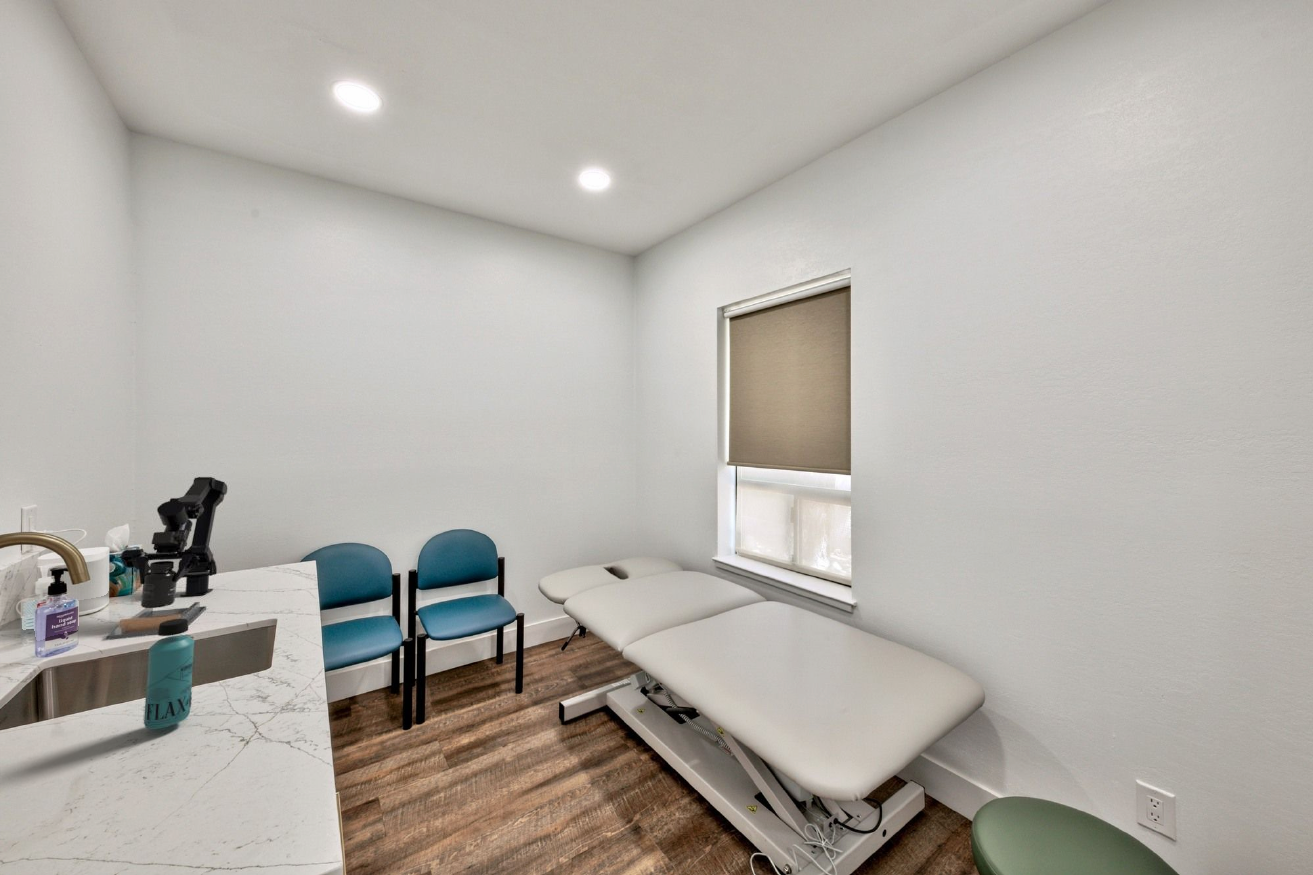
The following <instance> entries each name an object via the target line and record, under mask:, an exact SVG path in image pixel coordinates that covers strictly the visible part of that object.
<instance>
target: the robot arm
mask: <svg viewBox="0 0 1313 875" xmlns="http://www.w3.org/2000/svg"><path fill="white" fill-rule="evenodd" d="M227 493H228V485H227V483H226V482H225V481H221V480H218V479H216V478H215V477H212V476H197V477H194V478H193V483H192V484H191V485H190V487H189V488H188V490H187V491H186V492H185V494H184V495H183V496H179V497H171V498H170V499H169V500H168V501H165V502H163V503H162V504H160V505H159V506H157V509H156V511H157V513H158V516H159V519H160V521H161V523H162V525H163V526H165V528H164V530H163V531H156V532H153V534H152V540H151V545H153V550H154V551H155V552H146V551H144V549H143V548H131V549H129V548H128V549H124V550H123V551H122V552H121V554H120V557H119V558H120V560H121V562H122V564H123V565H124V567H125V568H129V569H130V568H133V569H135V570H138V574H139V581H140V584H141V585H143V580H144V576H145V575H146V574H147V573H149V572H150V570H149V568H150V563H149V562H150V561H173V560H179V562H178V567H177V568H178V569H177V571H176V575H175V579H174V581H175V582H179V580H181V579H182V578H185V580H186V581H185V591H184V592H183V593H181V594H179V596H180V597H195V596H197V597H198V596H205V595H206V594H208V593H211V592H212V591H214V588H209V585H210V584H209V581H210V576H213V575H214V576H215V575H217V573H218V572H217V571H218V568H217V562H216V561H215V559H214V554H213V552H212V550H211V548H210V543H211V537H212V530H213V526H214V519H215V516H216V515H215V514H216V510H217V507H218V506H219V505H220V504H221V503H223V501H224V499H225V495H227ZM192 520H195V526H194V530H193V537H192V540H191V545H190V546H189V547H188V548H187V549H186V547H187V545H188V539H189V536H190V533H191V532H192V527H193V524H194V523H193V521H192Z"/></svg>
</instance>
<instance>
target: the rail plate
mask: <svg viewBox="0 0 1313 875" xmlns="http://www.w3.org/2000/svg"><path fill="white" fill-rule="evenodd" d="M206 610H207V605H205V606H201V601H197V602H195V601H194V603H192V604H191V605H190V606H189V607H181V608H169V609H162V610H154V608H143V609H142V610H141V611H139V612H137V613H136V614H135V615H134V616H132V617H130V618H126V619H124V618H122V619H120V620H119V624H118V625H119V626H118V627H116V628H115V629H114V630H113V631H111V632H110V633H109V634H107V635H106V639H110V640H116V639H126V638H127V637H128V638H138V637H145V636H146V635H147V636H156V635H158V631H159V625H160V623H162V622H164V621H168V620H172V619H187V620H188V627H189V626H190V625H191V624H192V623H193V622H194V621H195V620H196V619H197V618H199V616H201V615H202V614H203V613H204V612H205V611H206ZM137 636H138V637H137Z"/></svg>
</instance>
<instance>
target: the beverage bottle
mask: <svg viewBox="0 0 1313 875" xmlns="http://www.w3.org/2000/svg"><path fill="white" fill-rule="evenodd" d="M188 630H189V626H188V620H187V619H172V620H168V621H164V622H162V623H160V625H159V631H158V634H157V635H158V637H160V636H161V637H163V638H161V639H159V640H157V641H156V642H155V643H153V644H152V645H151V646H150V647H149V648H148V654H149V655H148V666H147V682H146V683H147V684H146V688H145V690H144V691H145V698H144V712H143V715H142V716H143V719H142V721H143V725H144V727H145V728H146V729H149V730H150V729H151V730H153V729H162V728H163V729H164V728H167V727H171V726H174V725H177V724H178V723H180V722H181V723H182V721H185V720H186V719H187V718H188V717H189V715H190V713H191V708H192V702H193V701H192V700H193V697H192V694H193V688H192V687H193V672H194V670H195V669H194V666H195V663H194V659H195V657H194V650H195V649H194V647H195V639H194V638H192V637H190V636H188V635H185V634H184V633H185V632H187V631H188ZM183 634H184V635H183Z"/></svg>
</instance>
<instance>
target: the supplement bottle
mask: <svg viewBox="0 0 1313 875" xmlns="http://www.w3.org/2000/svg"><path fill="white" fill-rule="evenodd" d="M174 565H175V562H174V561H173V560H158V561H154V562H151V563H149V566H150V568H149V573H147V574H146V575H145V576H144V580H143V584H142V590H141V592H142V593H141V600H140V601H141V602H140V606H141V607H142V608H143V609H145V608H153V609H157V608H165V607H168V606H171V605H172V604H174V603H175V601H176V600H175V599H176V591H177V582H178V581H177V582H175V581H174V579H175V575H176V573H177V571H175V570H173V569H174V568H175V567H174Z"/></svg>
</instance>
